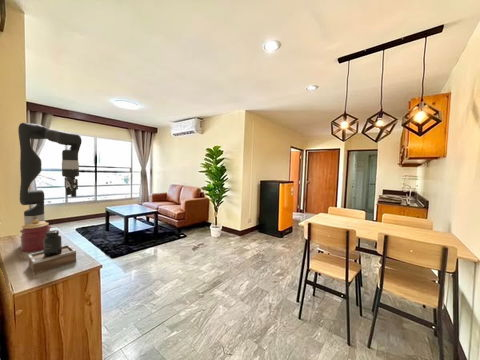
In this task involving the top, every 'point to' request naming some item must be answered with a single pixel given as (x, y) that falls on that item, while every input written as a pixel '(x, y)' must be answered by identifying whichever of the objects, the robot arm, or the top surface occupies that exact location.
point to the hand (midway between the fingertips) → (71, 195)
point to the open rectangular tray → (51, 260)
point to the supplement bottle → (52, 243)
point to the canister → (34, 235)
